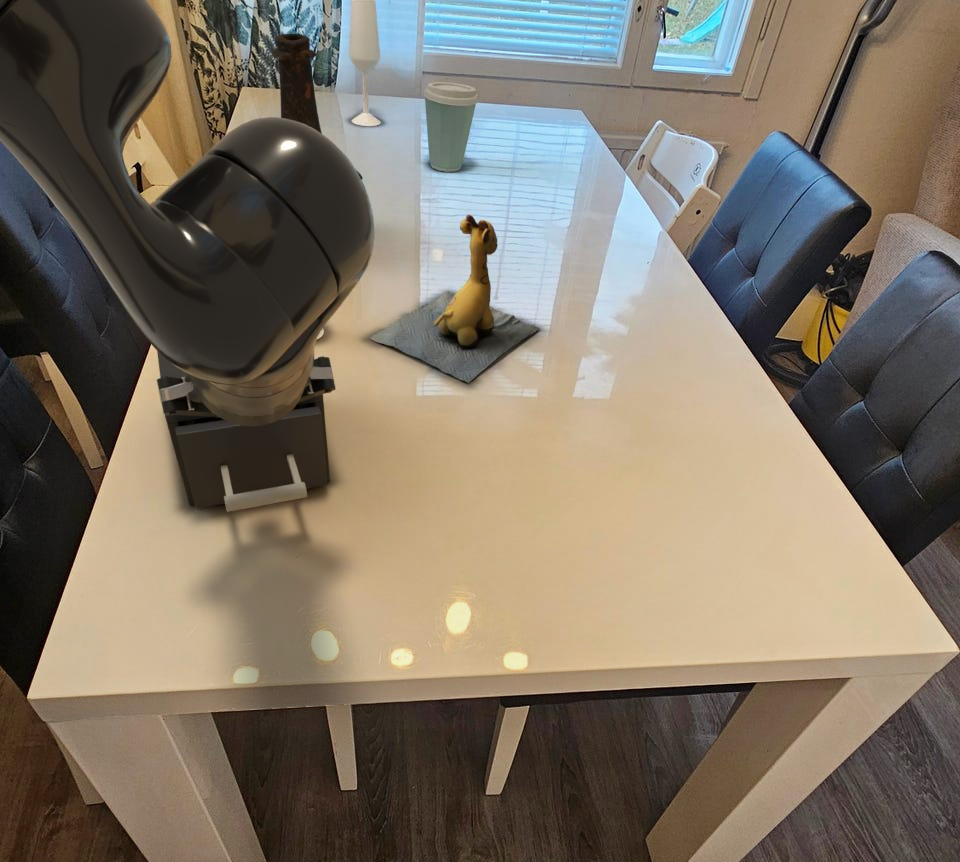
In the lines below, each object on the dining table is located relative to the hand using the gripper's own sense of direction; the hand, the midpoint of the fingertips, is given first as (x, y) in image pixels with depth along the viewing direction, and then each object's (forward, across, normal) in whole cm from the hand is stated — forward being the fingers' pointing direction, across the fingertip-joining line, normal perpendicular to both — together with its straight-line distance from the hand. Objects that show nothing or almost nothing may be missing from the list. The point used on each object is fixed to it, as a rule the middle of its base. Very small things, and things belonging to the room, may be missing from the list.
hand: (249, 406), depth 60 cm
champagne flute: (+96, -42, -78) cm, 131 cm away
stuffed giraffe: (+29, -30, -11) cm, 43 cm away
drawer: (+12, 0, +4) cm, 13 cm away
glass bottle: (+52, -17, -34) cm, 65 cm away
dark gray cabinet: (+17, 0, +1) cm, 17 cm away
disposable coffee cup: (+74, -51, -56) cm, 106 cm away
